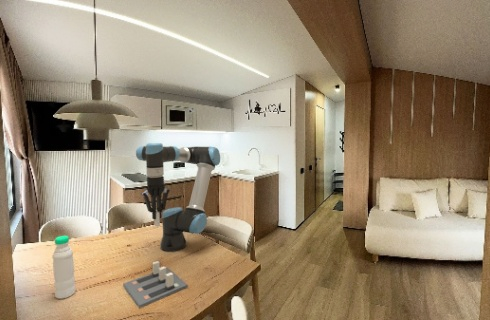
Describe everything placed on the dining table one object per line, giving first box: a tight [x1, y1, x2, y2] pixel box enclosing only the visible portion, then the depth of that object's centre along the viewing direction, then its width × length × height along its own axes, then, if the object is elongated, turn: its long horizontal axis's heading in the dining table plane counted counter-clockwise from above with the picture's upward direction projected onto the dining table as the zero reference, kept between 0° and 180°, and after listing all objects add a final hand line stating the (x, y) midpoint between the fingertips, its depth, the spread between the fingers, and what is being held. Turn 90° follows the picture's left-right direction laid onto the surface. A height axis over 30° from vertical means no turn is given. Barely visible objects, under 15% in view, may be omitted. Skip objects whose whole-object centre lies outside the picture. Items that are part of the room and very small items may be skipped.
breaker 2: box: [158, 265, 167, 283], centre depth 116 cm, size 2×3×6 cm
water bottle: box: [51, 235, 76, 300], centre depth 108 cm, size 7×7×25 cm
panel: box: [122, 267, 189, 309], centre depth 114 cm, size 20×21×1 cm
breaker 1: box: [151, 260, 161, 277], centre depth 122 cm, size 2×3×6 cm
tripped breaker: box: [165, 272, 174, 290], centre depth 111 cm, size 2×3×6 cm
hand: (157, 225), depth 123 cm, fingers closed
